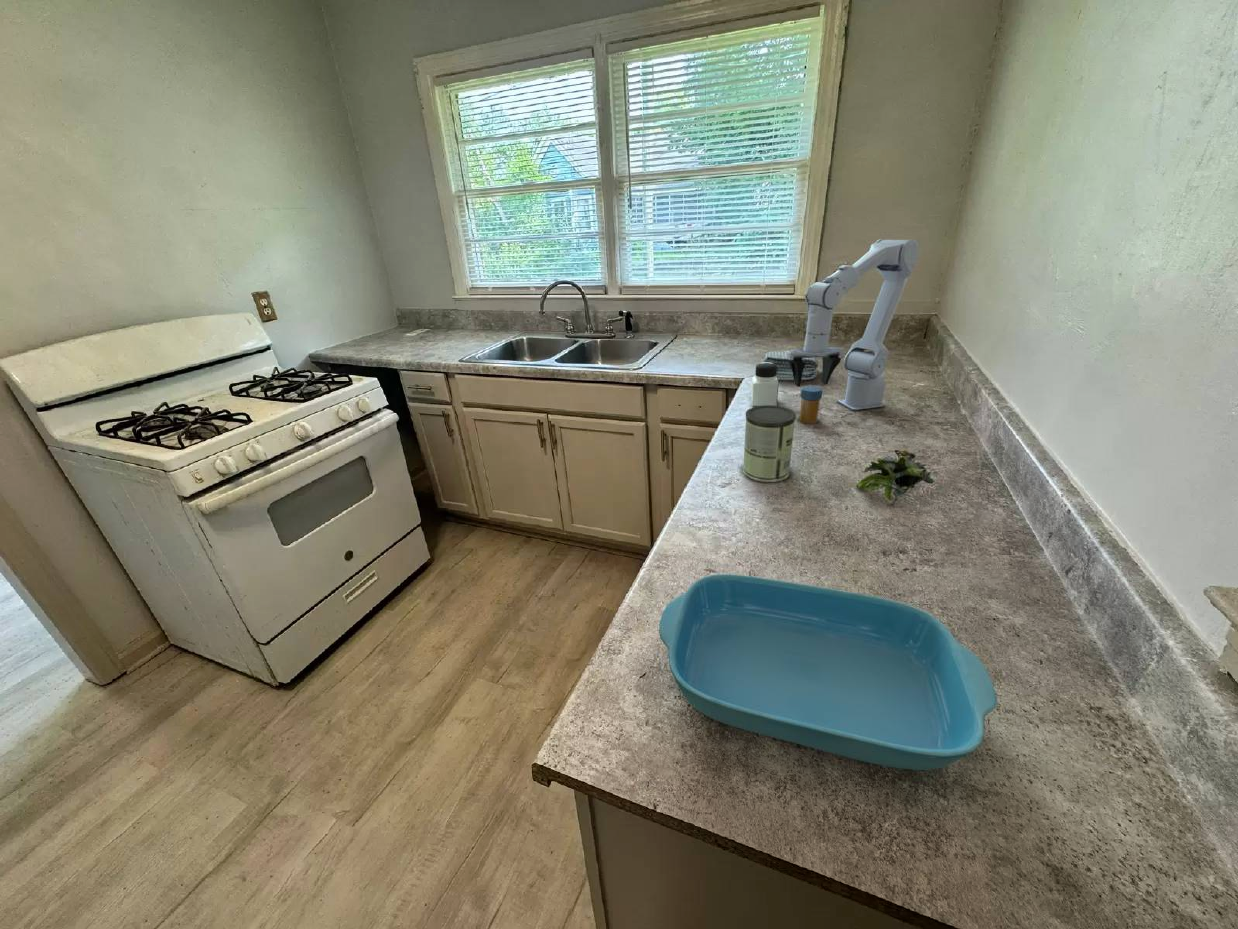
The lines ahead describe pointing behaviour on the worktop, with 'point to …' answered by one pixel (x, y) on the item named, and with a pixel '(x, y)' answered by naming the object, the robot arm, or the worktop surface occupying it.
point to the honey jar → (809, 411)
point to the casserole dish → (828, 670)
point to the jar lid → (811, 393)
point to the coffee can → (768, 443)
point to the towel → (785, 369)
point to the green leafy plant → (895, 474)
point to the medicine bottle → (765, 385)
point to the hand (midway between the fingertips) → (810, 384)
